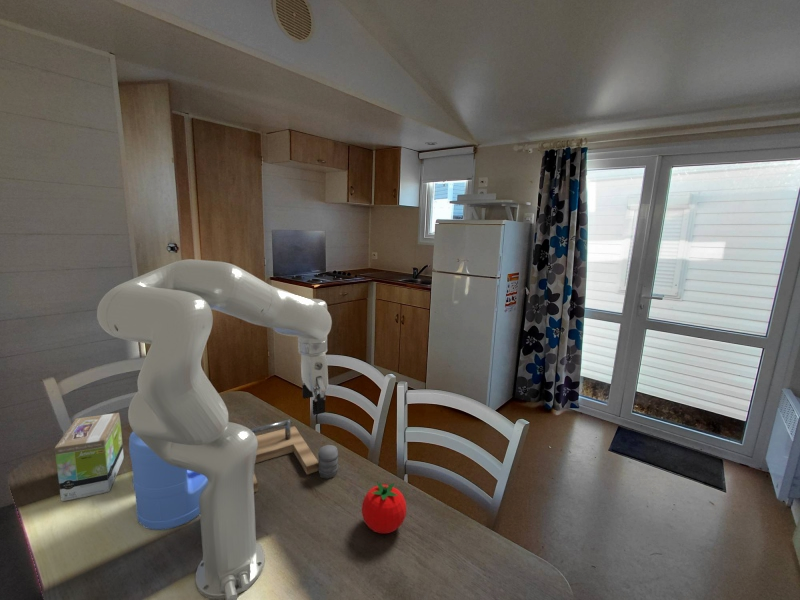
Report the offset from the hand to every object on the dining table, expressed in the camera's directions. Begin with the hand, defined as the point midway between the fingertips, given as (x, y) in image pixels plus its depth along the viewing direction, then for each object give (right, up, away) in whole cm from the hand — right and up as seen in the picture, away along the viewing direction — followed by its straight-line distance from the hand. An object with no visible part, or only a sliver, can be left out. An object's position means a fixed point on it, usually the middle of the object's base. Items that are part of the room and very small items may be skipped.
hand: (313, 405), depth 101 cm
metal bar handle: (-16, -15, +10) cm, 24 cm away
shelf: (-14, -18, +7) cm, 24 cm away
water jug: (-31, -22, -11) cm, 39 cm away
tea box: (-57, -19, -3) cm, 60 cm away
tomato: (+20, -24, -14) cm, 35 cm away
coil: (+3, -20, +3) cm, 20 cm away
